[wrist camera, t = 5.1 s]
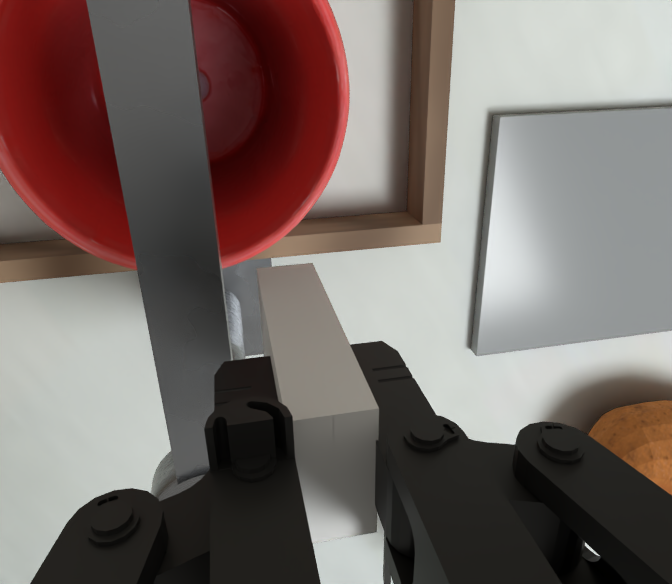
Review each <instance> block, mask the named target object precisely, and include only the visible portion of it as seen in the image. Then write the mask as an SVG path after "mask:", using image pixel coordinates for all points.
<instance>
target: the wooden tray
mask: <svg viewBox="0 0 672 584" xmlns="http://www.w3.org/2000/svg"><path fill="white" fill-rule="evenodd" d="M454 11H455V0H414V3H413V34H412V64H411V95H410V125H409V156H408V187H407V211H405V212H392V213H380V214H368V215H355V216H343V217H331V218H318V219H306V220H301V221H300V222H299V224H297V225H296V226H295V227H294V228H293V229H292V230H291V231H290V232H289V233H288V234H287V235H285V236H284V237H283V238H282V239H280V240H279V241H277V242H276V243H275V244H273V245H272V246H271V247H269V248H268V249H266V250H264V251H263V252H261V253H259V254H257V255H255V256H254V257H252V258H250V259H247V260H254V259H265V258H276V257H286V256H297V255H308V254H319V253H330V252H341V251H352V250H362V249H373V248H384V247H395V246H406V245H417V244H427V243H438V242H440V241H441V225H442V208H443V192H444V175H445V159H446V143H447V126H448V110H449V93H450V77H451V61H452V44H453V28H454ZM124 271H135V270H134V269H130V268H126V267H123V266H120V265H117V264H113V263H110V262H108V261H105V260H103V259H100V258H98V257H96V256H94V255H92V254H90V253H88V252H86V251H84V250H82V249H81V248H79V247H77V246H76V245H74V244H73V243H71V242H70V241H68V240H67V239H59V240H47V241H35V242H22V243H10V244H0V283H5V282H16V281H26V280H37V279H48V278H59V277H70V276H81V275H91V274H102V273H113V272H124Z"/></svg>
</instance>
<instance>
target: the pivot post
mask: <svg viewBox="0 0 672 584" xmlns="http://www.w3.org/2000/svg"><path fill="white" fill-rule="evenodd" d="M264 267H272V265H271V258H265V259H254V260H245V261H243V262H241V263H238V264H235V265H233V266H230V267H227V268H224V269H222V271H223V280H224V288H225V297H226V305H227V313H228V322H229V330H230V339H231V347H232V355H233V360H241V359H245V356H249V355H258V354H264V352H263V340H262V328H261V317H260V305H259V293H258V281H257V269H256V268H264Z"/></svg>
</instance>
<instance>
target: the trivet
mask: <svg viewBox="0 0 672 584" xmlns="http://www.w3.org/2000/svg"><path fill="white" fill-rule="evenodd" d="M671 330H672V106H666V107H646V108H626V109H607V110H587V111H567V112H547V113H528V114H508V115H493V121H492V132H491V143H490V153H489V164H488V175H487V185H486V196H485V206H484V217H483V228H482V238H481V249H480V260H479V270H478V281H477V292H476V302H475V313H474V323H473V334H472V345H471V350H472V351H473V353H474V354H475V355H476V356H482V355H490V354H497V353H505V352H512V351H520V350H527V349H535V348H543V347H550V346H558V345H565V344H573V343H581V342H588V341H596V340H603V339H611V338H618V337H626V336H634V335H641V334H649V333H656V332H664V331H671Z"/></svg>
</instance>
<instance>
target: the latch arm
mask: <svg viewBox="0 0 672 584" xmlns="http://www.w3.org/2000/svg"><path fill="white" fill-rule="evenodd" d="M86 2H87V7H88V12H89V18H90V23H91V28H92V34H93V39H94V44H95V49H96V55H97V60H98V65H99V70H100V76H101V81H102V86H103V92H104V97H105V102H106V107H107V113H108V118H109V123H110V129H111V134H112V139H113V144H114V150H115V155H116V160H117V165H118V171H119V176H120V181H121V187H122V192H123V197H124V202H125V208H126V213H127V218H128V223H129V229H130V234H131V239H132V245H133V250H134V255H135V260H136V266H137V271H138V276H139V282H140V287H141V292H142V297H143V303H144V308H145V313H146V318H147V324H148V329H149V334H150V340H151V345H152V350H153V355H154V361H155V366H156V371H157V377H158V382H159V387H160V392H161V398H162V403H163V408H164V413H165V419H166V424H167V429H168V435H169V440H170V445H171V451H170V452H169V453H168V454H167V455H166V456H165V457H164V459H163V460H162V461H161V462H160V464H159V466H158V467H157V469H156V472H155V474H154V478H153V482H152V489H151V494H152V495H154V496H155V497H157V498H158V499H159V501H161V500H164V499H166V498H169V497H171V496H173V495H176V494H178V493H180V492H182V491H184V490H186V489H188V488H190V487H191V486H193V485H194V484H195V483H197V482H198V481H199V480H201V479H202V477H203V476H204V475H205V474H206V473H207V472H208V470H209V469H210V466H209V460H208V453H207V446H206V439H205V432H204V427H205V424H206V421H207V418H208V417H209V416H210V415H211V414H212V413H213V412H214V407H215V406H214V375H215V374H216V372H217V371H218V369H219V368H220V367H221V365H222V364H223V362H224V361H232V360H233V355H232V347H231V339H230V330H229V322H228V313H227V305H226V297H225V288H224V280H223V271H222V263H221V254H220V246H219V238H218V229H217V221H216V212H215V204H214V196H213V187H212V179H211V170H210V162H209V154H208V145H207V137H206V128H205V120H204V111H203V103H202V95H201V86H200V78H199V69H198V61H197V53H196V44H195V36H194V27H193V19H192V10H191V2H190V0H86Z"/></svg>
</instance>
